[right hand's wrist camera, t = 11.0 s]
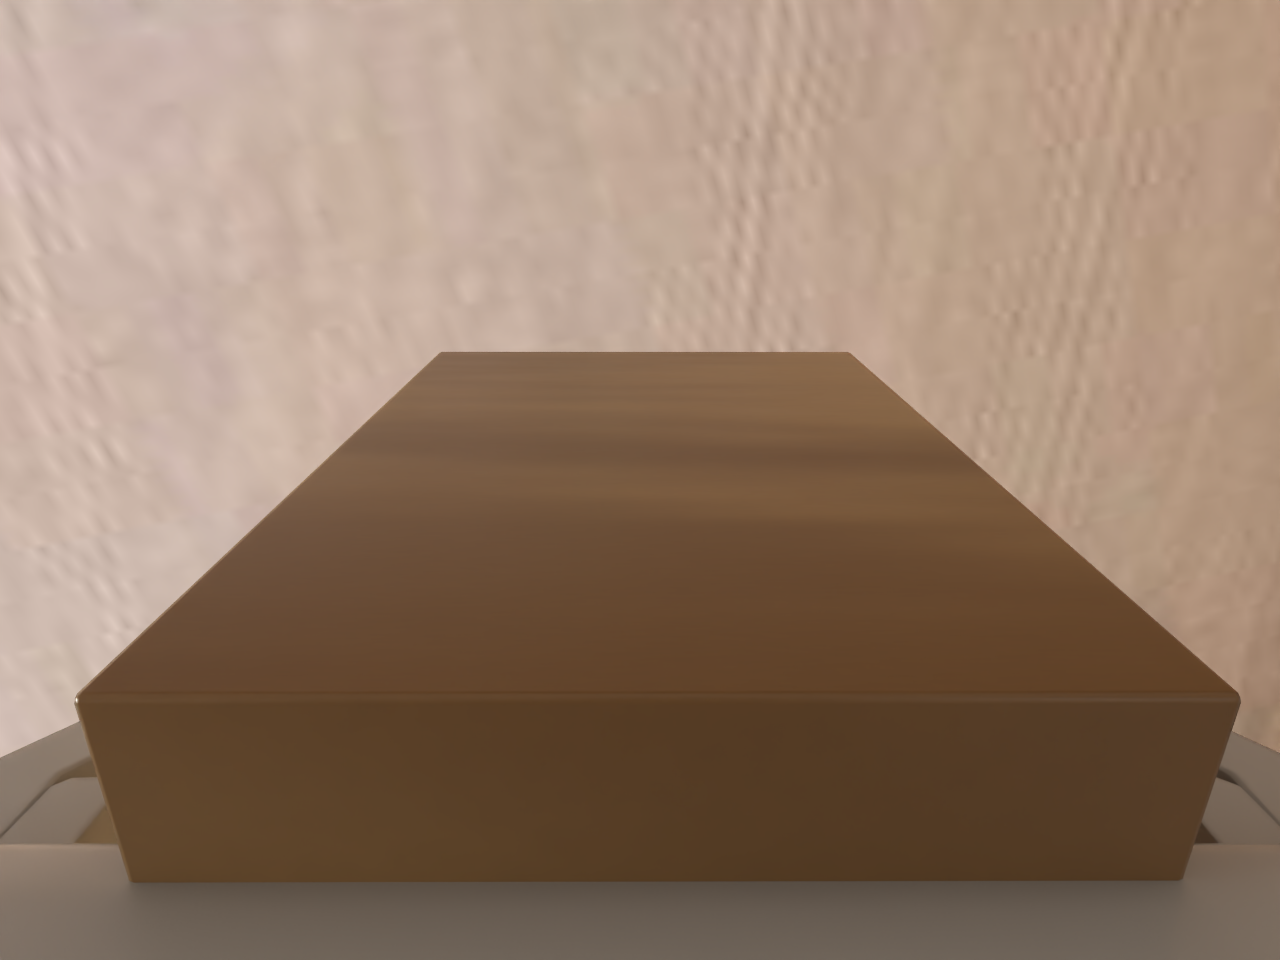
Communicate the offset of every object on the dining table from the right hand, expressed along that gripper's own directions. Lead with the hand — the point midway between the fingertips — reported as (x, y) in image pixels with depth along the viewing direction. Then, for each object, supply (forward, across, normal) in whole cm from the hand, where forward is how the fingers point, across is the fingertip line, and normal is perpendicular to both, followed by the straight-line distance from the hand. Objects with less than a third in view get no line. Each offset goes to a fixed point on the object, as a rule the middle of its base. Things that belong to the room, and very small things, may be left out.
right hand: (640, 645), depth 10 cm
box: (+3, 0, +10) cm, 10 cm away
